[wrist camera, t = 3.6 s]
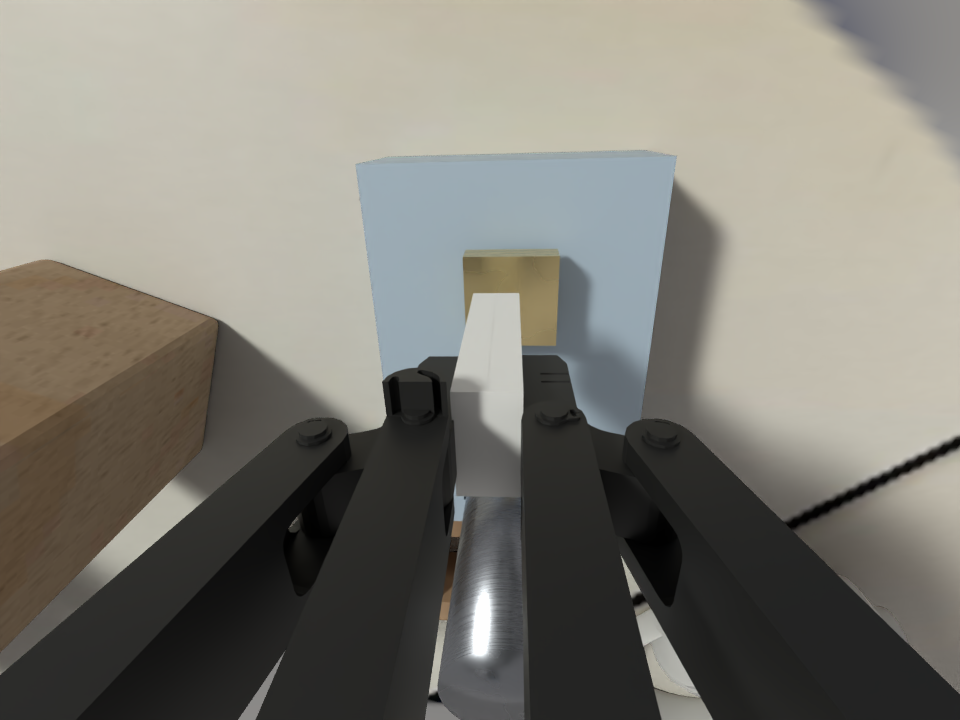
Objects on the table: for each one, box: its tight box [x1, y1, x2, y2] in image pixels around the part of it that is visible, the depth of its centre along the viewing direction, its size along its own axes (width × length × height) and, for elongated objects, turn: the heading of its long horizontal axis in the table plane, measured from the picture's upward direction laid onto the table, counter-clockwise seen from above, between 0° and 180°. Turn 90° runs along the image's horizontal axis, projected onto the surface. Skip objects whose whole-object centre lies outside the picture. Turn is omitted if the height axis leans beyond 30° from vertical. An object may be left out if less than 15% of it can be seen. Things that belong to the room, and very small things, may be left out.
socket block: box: [356, 150, 677, 521], centre depth 24 cm, size 12×18×5 cm, turn 2°
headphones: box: [636, 574, 909, 720], centre depth 33 cm, size 18×8×20 cm
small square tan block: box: [463, 249, 560, 346], centre depth 21 cm, size 4×4×6 cm
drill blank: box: [438, 496, 524, 720], centre depth 21 cm, size 4×4×16 cm
